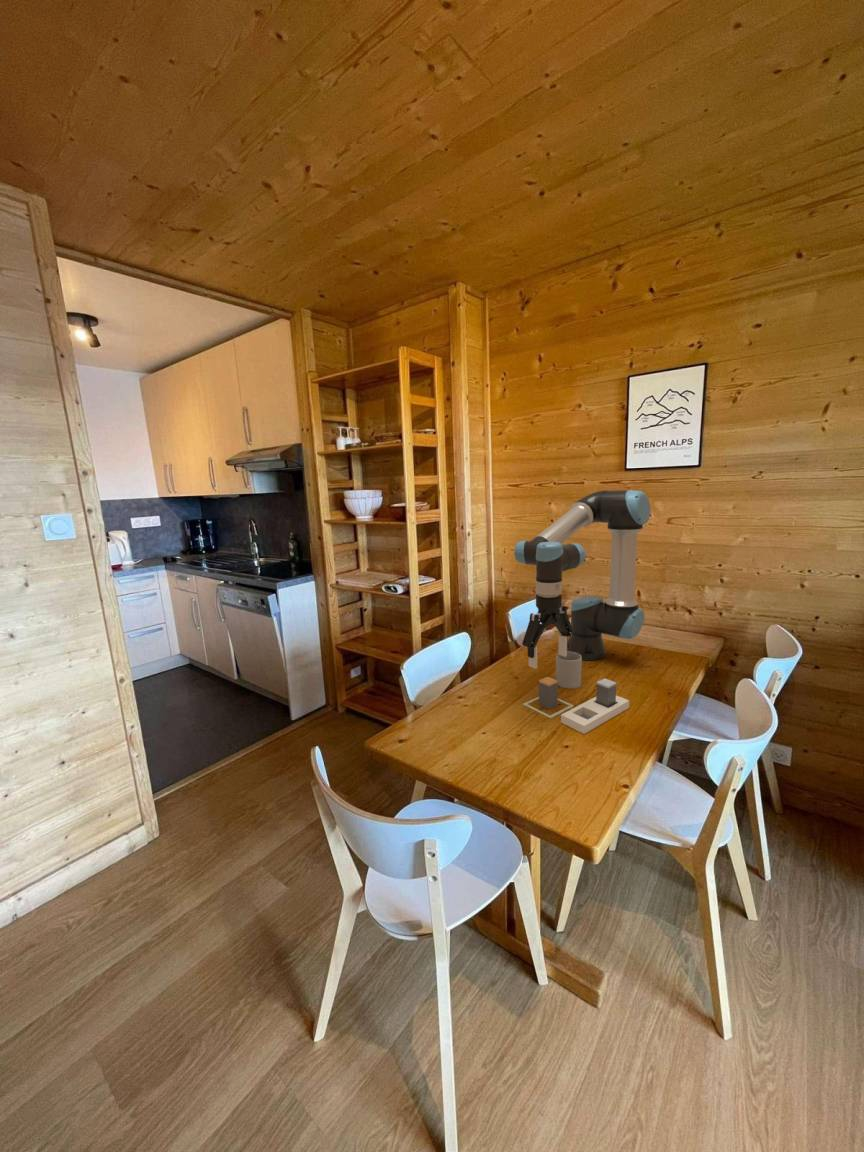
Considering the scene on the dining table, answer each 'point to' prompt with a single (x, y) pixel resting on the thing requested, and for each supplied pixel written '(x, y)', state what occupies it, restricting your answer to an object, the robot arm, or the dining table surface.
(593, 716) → the strip
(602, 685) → the grey square peg
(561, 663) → the mug
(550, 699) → the plug
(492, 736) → the dining table surface
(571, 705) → the tray
